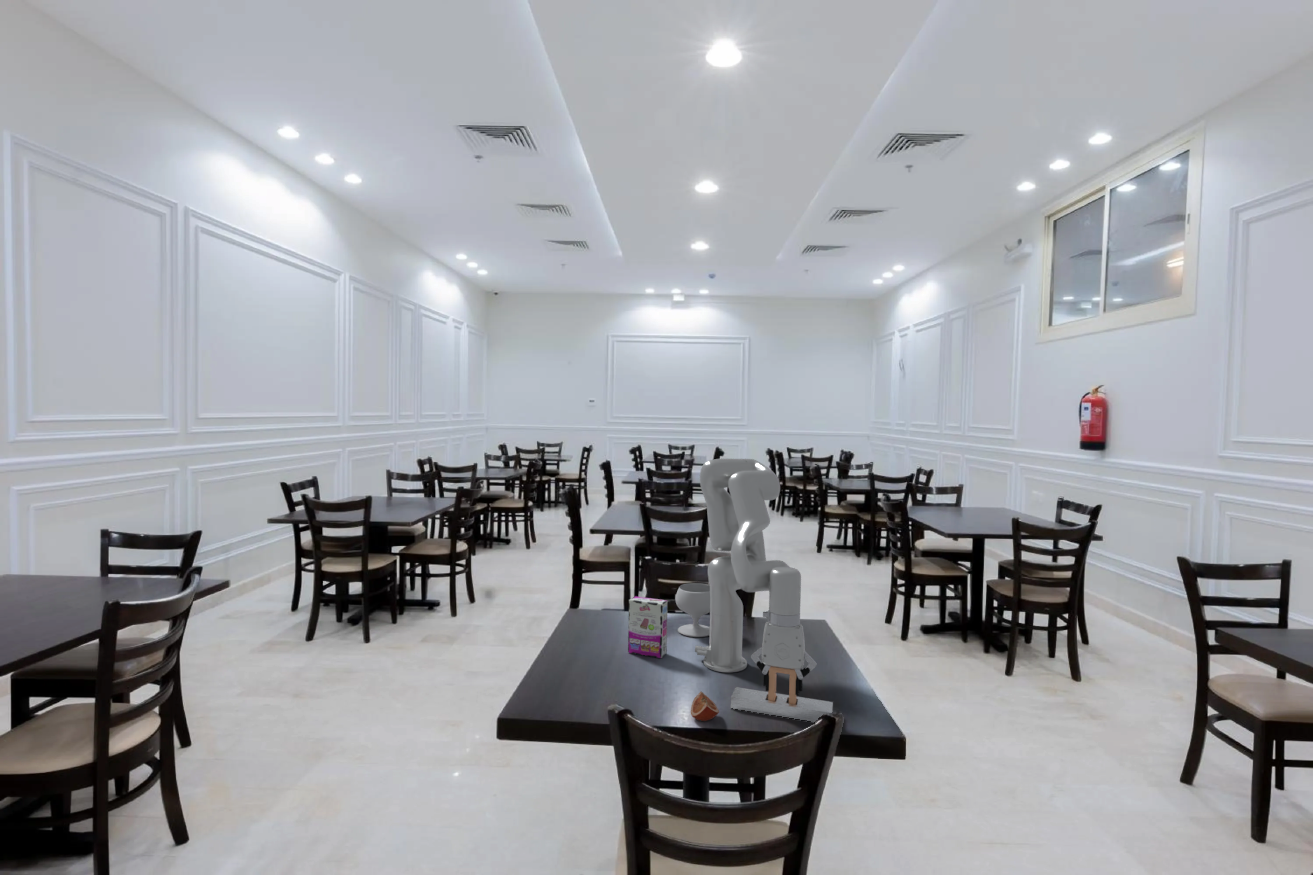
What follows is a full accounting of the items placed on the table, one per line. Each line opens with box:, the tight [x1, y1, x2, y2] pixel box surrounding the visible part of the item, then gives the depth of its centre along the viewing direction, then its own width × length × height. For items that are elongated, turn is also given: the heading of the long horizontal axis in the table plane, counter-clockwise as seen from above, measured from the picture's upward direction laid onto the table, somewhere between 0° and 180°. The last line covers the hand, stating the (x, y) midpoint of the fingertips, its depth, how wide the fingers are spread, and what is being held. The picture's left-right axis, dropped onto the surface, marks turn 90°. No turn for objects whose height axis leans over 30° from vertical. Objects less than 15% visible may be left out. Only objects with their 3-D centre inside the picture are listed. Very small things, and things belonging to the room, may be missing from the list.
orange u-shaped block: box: [767, 666, 798, 705], centre depth 153 cm, size 7×2×9 cm, turn 72°
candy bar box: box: [627, 595, 669, 659], centre depth 189 cm, size 11×5×16 cm, turn 68°
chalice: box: [675, 582, 710, 638], centre depth 209 cm, size 14×14×15 cm
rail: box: [730, 686, 834, 724], centre depth 153 cm, size 24×6×3 cm, turn 72°
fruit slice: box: [690, 691, 720, 722], centre depth 149 cm, size 8×7×5 cm
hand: (782, 690), depth 153 cm, fingers closed on orange u-shaped block, 6 cm apart
